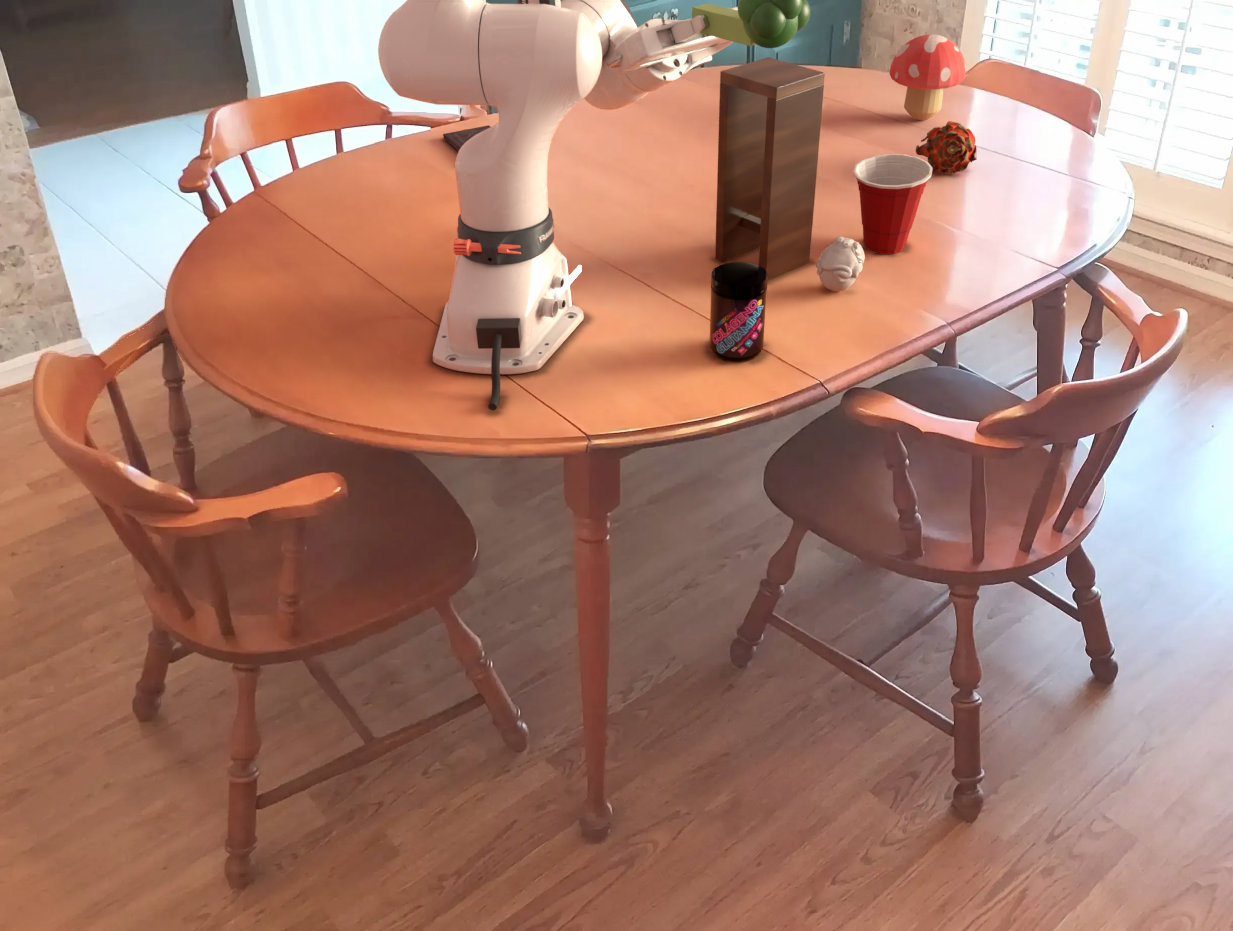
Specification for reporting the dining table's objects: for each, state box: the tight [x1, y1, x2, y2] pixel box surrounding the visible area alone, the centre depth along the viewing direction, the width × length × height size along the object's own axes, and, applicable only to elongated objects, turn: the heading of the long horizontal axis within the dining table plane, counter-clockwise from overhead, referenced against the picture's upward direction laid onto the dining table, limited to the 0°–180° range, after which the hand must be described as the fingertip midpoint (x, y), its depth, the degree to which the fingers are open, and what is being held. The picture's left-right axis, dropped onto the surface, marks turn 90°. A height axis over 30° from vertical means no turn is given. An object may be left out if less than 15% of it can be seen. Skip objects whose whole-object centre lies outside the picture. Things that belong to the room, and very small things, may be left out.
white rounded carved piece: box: [815, 236, 866, 292], centre depth 147 cm, size 6×7×7 cm
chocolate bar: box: [443, 124, 491, 153], centre depth 196 cm, size 9×1×18 cm
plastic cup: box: [852, 153, 933, 255], centre depth 156 cm, size 11×11×12 cm
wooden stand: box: [714, 56, 826, 282], centre depth 149 cm, size 10×9×26 cm
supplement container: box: [709, 261, 768, 363], centre depth 133 cm, size 7×7×10 cm
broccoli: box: [691, 0, 811, 49], centre depth 140 cm, size 17×9×8 cm, turn 40°
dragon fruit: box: [915, 120, 978, 176], centre depth 181 cm, size 8×8×12 cm
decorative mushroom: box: [888, 34, 967, 121], centre depth 199 cm, size 13×13×15 cm
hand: (717, 17), depth 145 cm, fingers closed on broccoli, 3 cm apart
